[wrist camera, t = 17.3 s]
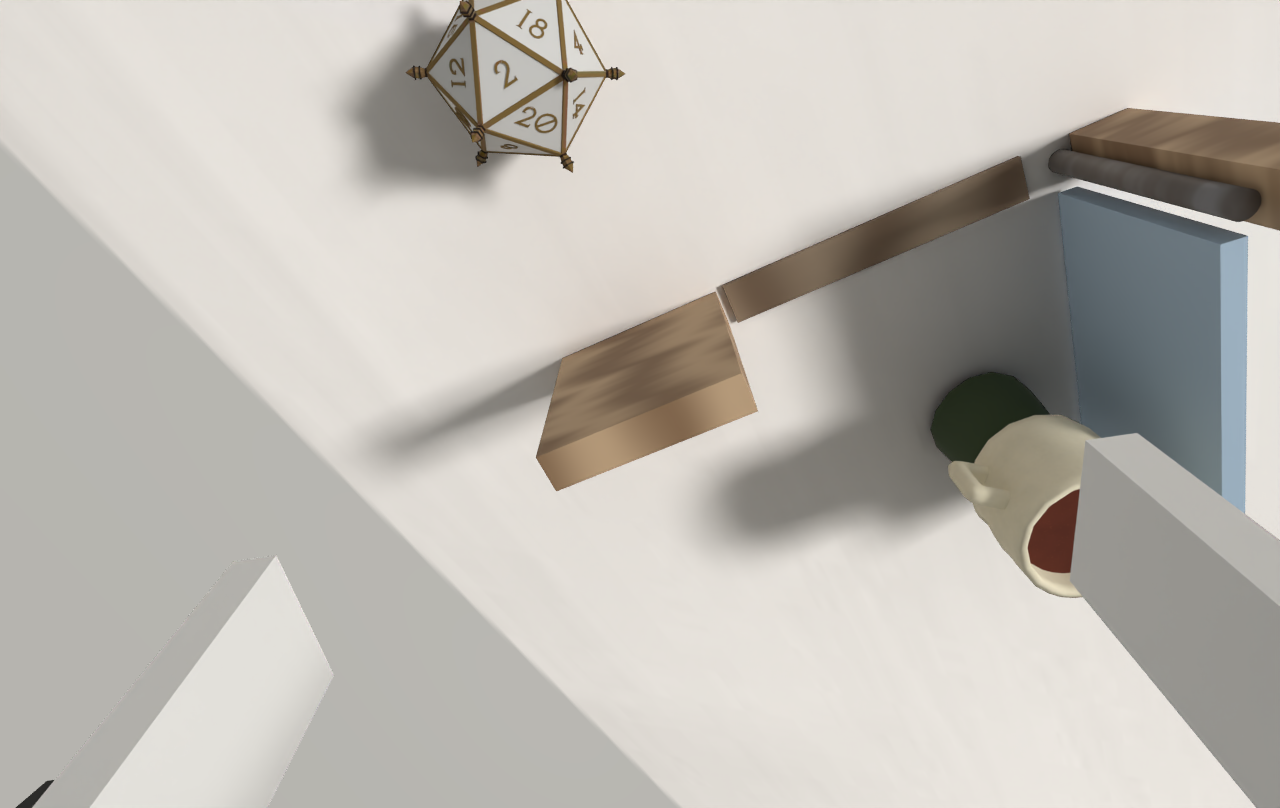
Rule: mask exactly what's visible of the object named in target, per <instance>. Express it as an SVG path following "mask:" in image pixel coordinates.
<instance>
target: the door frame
mask: <svg viewBox="0 0 1280 808" xmlns="http://www.w3.org/2000/svg"><path fill="white" fill-rule="evenodd" d="M1069 135H1070V141H1071V146H1072V151H1069V150H1064V149H1061V150H1058V151H1056V152H1054V153H1053V154H1052V155H1051V157H1050V159H1049V163H1048V165H1049V169H1050V170H1051V171H1052V172H1055V173H1058V174H1062V175H1066V176H1069V177H1073V178H1077V179H1080V180H1084V181H1088V182H1092V183H1095V184H1099V185H1103V186H1106V187H1110V188H1114V189H1117V190H1121V191H1125V192H1128V193H1132V194H1136V195H1140V196H1143V197H1147V198H1151V199H1154V200H1158V201H1162V202H1165V203H1169V204H1173V205H1177V206H1180V207H1184V208H1188V209H1191V210H1195V211H1199V212H1202V213H1206V214H1210V215H1213V216H1217V217H1221V218H1225V219H1228V220H1232V221H1236V222H1241V221H1246V222H1250V223H1253V224H1257V225H1261V226H1265V227H1268V228H1272V229H1276V230H1280V123H1276V122H1266V121H1256V120H1245V119H1235V118H1225V117H1214V116H1204V115H1194V114H1184V113H1173V112H1163V111H1153V110H1142V109H1132V108H1127V109H1125V110H1122V111H1120V112H1118V113H1115V114H1113V115H1111V116H1109V117H1106V118H1104V119H1102V120H1099V121H1097V122H1095V123H1093V124H1090V125H1088V126H1086V127H1083V128H1081V129H1079V130H1077V131H1074V132H1072V133H1070V134H1069ZM1028 199H1030V198H1029V194H1028V189H1027V185H1026V180H1025V175H1024V171H1023V166H1022V162H1021V157H1019V156H1017V157H1015V158H1012V159H1010V160H1008V161H1005V162H1003V163H1001V164H999V165H996V166H994V167H992V168H989V169H987V170H985V171H983V172H980V173H978V174H976V175H973V176H971V177H969V178H967V179H964V180H962V181H960V182H957V183H955V184H953V185H951V186H948V187H946V188H944V189H941V190H939V191H937V192H934V193H932V194H930V195H928V196H925V197H923V198H921V199H918V200H916V201H914V202H912V203H909V204H907V205H905V206H902V207H900V208H898V209H896V210H893V211H891V212H889V213H886V214H884V215H882V216H879V217H877V218H875V219H873V220H870V221H868V222H866V223H863V224H861V225H859V226H857V227H854V228H852V229H850V230H847V231H845V232H843V233H841V234H838V235H836V236H834V237H831V238H829V239H827V240H824V241H822V242H820V243H818V244H815V245H813V246H811V247H808V248H806V249H804V250H802V251H799V252H797V253H795V254H792V255H790V256H788V257H786V258H783V259H781V260H779V261H776V262H774V263H772V264H769V265H767V266H765V267H763V268H760V269H758V270H756V271H753V272H751V273H749V274H747V275H744V276H742V277H740V278H737V279H735V280H733V281H731V282H728V283H726V284H724V285H722V286H723V289H724V291H725V293H726V296H727V298H728V300H729V303H730V305H731V308H732V310H733V312H734V315H735V317H736V319H737V322H741V321H743V320H746V319H748V318H750V317H753V316H755V315H757V314H760V313H762V312H764V311H767V310H769V309H771V308H774V307H776V306H779V305H781V304H783V303H786V302H788V301H790V300H793V299H795V298H797V297H800V296H802V295H804V294H807V293H809V292H812V291H814V290H816V289H819V288H821V287H823V286H826V285H828V284H830V283H833V282H835V281H837V280H840V279H842V278H845V277H847V276H849V275H852V274H854V273H856V272H859V271H861V270H863V269H866V268H868V267H870V266H873V265H875V264H878V263H880V262H882V261H885V260H887V259H889V258H892V257H894V256H896V255H899V254H901V253H903V252H906V251H908V250H911V249H913V248H915V247H918V246H920V245H922V244H925V243H927V242H929V241H932V240H934V239H936V238H939V237H941V236H944V235H946V234H948V233H951V232H953V231H955V230H958V229H960V228H962V227H965V226H967V225H969V224H972V223H974V222H977V221H979V220H981V219H984V218H986V217H988V216H991V215H993V214H995V213H998V212H1000V211H1002V210H1005V209H1007V208H1010V207H1012V206H1014V205H1017V204H1019V203H1021V202H1024V201H1026V200H1028ZM757 411H758V410H757V407H756V404H755V401H754V398H753V395H752V392H751V389H750V386H749V383H748V380H747V377H746V374H745V371H744V368H743V365H742V362H741V359H740V356H739V353H738V350H737V347H736V344H735V341H734V338H733V335H732V332H731V329H730V326H729V323H728V320H727V318H726V315H725V313H724V311H723V308H722V306H721V304H720V301H719V299H718V297H717V294H716V292H714V293H711V294H709V295H707V296H704V297H702V298H700V299H698V300H695V301H693V302H691V303H688V304H686V305H684V306H681V307H679V308H677V309H675V310H672V311H670V312H668V313H665V314H663V315H661V316H658V317H656V318H654V319H652V320H649V321H647V322H645V323H642V324H640V325H638V326H636V327H633V328H631V329H629V330H626V331H624V332H622V333H619V334H617V335H615V336H613V337H610V338H608V339H606V340H603V341H601V342H599V343H596V344H594V345H592V346H590V347H587V348H585V349H583V350H580V351H578V352H576V353H573V354H571V355H569V356H567V357H564V358H562V361H561V365H560V369H559V373H558V376H557V380H556V384H555V388H554V391H553V395H552V399H551V403H550V406H549V410H548V414H547V418H546V421H545V425H544V429H543V433H542V436H541V440H540V444H539V448H538V451H537V455H536V458H537V460H538V462H539V463H540V465H541V467H542V468H543V470H544V472H545V473H546V475H547V477H548V478H549V480H550V482H551V483H552V485H553V487H554V488H555V490H556V491H559V490H561V489H564V488H566V487H569V486H571V485H574V484H576V483H579V482H581V481H584V480H586V479H589V478H591V477H594V476H596V475H599V474H601V473H604V472H606V471H609V470H611V469H614V468H616V467H619V466H621V465H624V464H626V463H629V462H631V461H634V460H636V459H639V458H641V457H644V456H646V455H649V454H652V453H654V452H657V451H659V450H662V449H664V448H667V447H669V446H672V445H674V444H677V443H679V442H682V441H684V440H687V439H689V438H692V437H694V436H697V435H699V434H702V433H704V432H707V431H709V430H712V429H714V428H717V427H719V426H722V425H724V424H727V423H729V422H732V421H734V420H737V419H739V418H742V417H744V416H747V415H750V414H752V413H755V412H757Z"/></svg>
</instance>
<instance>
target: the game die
mask: <svg viewBox="0 0 1280 808" xmlns="http://www.w3.org/2000/svg"><path fill="white" fill-rule="evenodd" d="M406 73H407V74H408V75H410V76H412V77H413V78H415V80H416V78H420V79H422V78H423V77H428V79H429V80H430V81H431V83H432V84H433V85H434V87H435V88H436V89H437V91H438V92H439V93H440V95H441V96H442V97H443V99H444V100H445V101H446V103H447V104H448V105H449V107H450V108H451V110H452V111H453V112H454V114H455V115H456V116H457V118H458V119H459V120H460V122H461V123H462V124H463V126H464V127H465V128H466V130H467V131H468V132H469V134H470V135H471V139H472V142H476V143H477V144H478V146H479V147H480V148H481V151H480V152H478V155H477V156H476V160H477V167H478V166H480V165H481V164H483V163H486V159H487V158H488V157H487V153H488V152H489V153H506V154H524V155H541V156H558V157H560V158H561V164H563V166H564V167H563V168H565V169H567V170H569V171H571V172H572V173H573V163H574V162H573V161H571V157H569V156H568V155H567V154H566V152H567V150H568V148H569V146H570V144H571V143H572V141H573V139H574V137H575V135H576V133H577V131H578V129H579V127H580V125H581V124H582V122H583V120H584V118H585V116H586V114H587V112H588V110H589V108H590V106H591V105H592V103H593V101H594V99H595V97H596V95H597V93H598V91H599V89H600V87H601V86H602V84H603V82H604V80H605V78H610V79H611V80H613V79H616V80H618V78H620V77H621V76H623V75H624V74H625V73H624V72H622V71H621V70H619V69H618V68H617V67H616V68H612V67H611V69H608V70H607V69H605V67H604V66H603V64H602V62H601V60H600V58H599V57H598V55H597V53H596V51H595V49H594V48H593V46H592V44H591V42H590V40H589V39H588V37H587V35H586V33H585V31H584V30H583V28H582V26H581V24H580V22H579V21H578V19H577V17H576V15H575V13H574V12H573V10H572V8H571V6H570V4H569V3H568V1H567V0H462V1H460V5H459V7H458V9H457V11H456V12H455V14H454V16H453V18H452V20H451V22H450V24H449V26H448V28H447V30H446V32H445V34H444V35H443V37H442V39H441V41H440V43H439V45H438V47H437V49H436V51H435V53H434V55H433V57H432V58H431V60H430V62H429V64H428V66H427V68H425V69H424V68H421V67H420V66H419V67H415V66H413V68H411V69H410V70H408V71H407V72H406Z"/></svg>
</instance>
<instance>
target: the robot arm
mask: <svg viewBox="0 0 1280 808" xmlns="http://www.w3.org/2000/svg"><path fill="white" fill-rule="evenodd" d="M1070 582H1071V583H1072V584H1073V586H1074V587H1075V588H1076V589H1077V590H1078V592H1079V593H1080V594H1081V595H1082V596H1083V598H1084V599H1085V600H1086V601H1087V603H1088V604H1089V605H1090V606H1091V607H1092V609H1093V610H1094V611H1095V612H1096V613H1097V615H1098V616H1099V617H1100V618H1101V620H1102V621H1103V622H1104V623H1105V624H1106V626H1107V627H1108V628H1109V629H1110V630H1111V632H1112V633H1113V634H1114V635H1115V637H1116V638H1117V639H1118V640H1119V641H1120V643H1121V644H1122V645H1123V646H1124V647H1125V649H1126V650H1127V651H1128V652H1129V654H1130V655H1131V656H1132V657H1133V658H1134V660H1135V661H1136V662H1137V663H1138V664H1139V666H1140V667H1141V668H1142V669H1143V671H1144V672H1145V673H1146V674H1147V675H1148V677H1149V678H1150V679H1151V680H1152V681H1153V683H1154V684H1155V685H1156V686H1157V688H1158V689H1159V690H1160V691H1161V692H1162V694H1163V695H1164V696H1165V697H1166V699H1167V700H1168V701H1169V702H1170V703H1171V705H1172V706H1173V707H1174V708H1175V709H1176V711H1177V712H1178V713H1179V714H1180V716H1181V717H1182V718H1183V719H1184V720H1185V722H1186V723H1187V724H1188V725H1189V726H1190V728H1191V729H1192V730H1193V731H1194V733H1195V734H1196V735H1197V736H1198V737H1199V739H1200V740H1201V741H1202V742H1203V743H1204V745H1205V746H1206V747H1207V748H1208V750H1209V751H1210V752H1211V753H1212V754H1213V756H1214V757H1215V758H1216V759H1217V760H1218V762H1219V763H1220V764H1221V765H1222V767H1223V768H1224V769H1225V770H1226V771H1227V773H1228V774H1229V775H1230V776H1231V777H1232V779H1233V780H1234V781H1235V782H1236V784H1237V785H1238V786H1239V787H1240V788H1241V790H1242V791H1243V792H1244V793H1245V794H1246V796H1247V797H1248V798H1249V799H1250V801H1251V802H1252V803H1253V804H1254V805H1255V807H1256V808H1280V540H1279V539H1278V538H1276V537H1275V536H1274V535H1272V534H1271V533H1270V532H1268V531H1267V530H1266V529H1264V528H1263V527H1262V526H1260V525H1259V524H1258V523H1256V522H1255V521H1254V520H1252V519H1251V518H1250V517H1248V516H1247V515H1246V514H1244V513H1243V512H1242V511H1240V510H1239V509H1238V508H1236V507H1235V506H1234V505H1232V504H1231V503H1230V502H1228V501H1227V500H1226V499H1224V498H1223V497H1222V496H1220V495H1219V494H1218V493H1216V492H1215V491H1214V490H1212V489H1211V488H1210V487H1208V486H1207V485H1206V484H1204V483H1203V482H1202V481H1200V480H1199V479H1198V478H1196V477H1195V476H1194V475H1192V474H1191V473H1190V472H1188V471H1187V470H1186V469H1184V468H1183V467H1182V466H1181V465H1179V464H1178V463H1177V462H1175V461H1174V460H1173V459H1171V458H1170V457H1169V456H1167V455H1166V454H1165V453H1163V452H1162V451H1161V450H1159V449H1158V448H1157V447H1155V446H1154V445H1153V444H1151V443H1150V442H1149V441H1147V440H1146V439H1145V438H1143V437H1142V436H1141V435H1139V434H1138V433H1133V434H1126V435H1119V436H1112V437H1105V438H1098V439H1091V440H1085V449H1084V458H1083V467H1082V475H1081V484H1080V493H1079V502H1078V511H1077V520H1076V529H1075V537H1074V546H1073V555H1072V564H1071V573H1070ZM333 676H334V674H333V672H332V670H331V668H330V666H329V664H328V662H327V660H326V658H325V655H324V653H323V651H322V649H321V647H320V645H319V643H318V641H317V639H316V637H315V635H314V633H313V631H312V629H311V626H310V624H309V622H308V620H307V618H306V616H305V614H304V612H303V610H302V608H301V606H300V604H299V602H298V599H297V597H296V595H295V593H294V591H293V589H292V587H291V585H290V583H289V581H288V579H287V577H286V575H285V573H284V570H283V569H282V566H281V564H280V562H279V560H278V558H277V556H276V555H275V556H268V557H262V558H254V559H247V560H240V561H233V562H232V563H231V565H230V566H229V567H228V568H227V570H226V571H225V572H224V573H223V574H222V576H221V577H220V578H219V579H218V581H217V582H216V583H215V584H214V586H213V587H212V588H211V589H210V590H209V592H208V593H207V594H206V595H205V596H204V598H203V599H202V600H201V601H200V603H199V604H198V605H197V606H196V608H195V609H194V610H193V611H192V612H191V614H190V615H189V616H188V617H187V619H186V620H185V621H184V622H183V623H182V625H181V626H180V627H179V628H178V630H177V631H176V632H175V633H174V635H173V636H172V637H171V638H170V639H169V641H168V642H167V643H166V644H165V646H164V647H163V648H162V649H161V650H160V652H159V653H158V654H157V655H156V656H155V658H154V659H153V660H152V662H151V663H150V664H149V665H148V666H147V668H146V669H145V670H144V671H143V673H142V674H141V675H140V676H139V677H138V679H137V680H136V681H135V682H134V683H133V685H132V686H131V687H130V688H129V690H128V691H127V692H126V694H124V696H123V697H122V698H121V699H120V701H119V702H118V703H117V704H116V706H115V707H114V708H113V709H112V710H111V712H110V713H109V714H108V715H107V717H106V718H105V719H104V720H103V721H102V723H101V724H100V725H99V726H98V728H97V729H96V730H95V731H94V732H93V734H92V735H91V736H90V737H89V739H88V740H87V741H86V742H85V743H84V745H83V746H82V747H81V748H80V750H79V751H78V752H77V753H76V755H75V756H74V757H73V758H72V759H71V761H70V762H69V763H68V764H67V766H66V767H65V768H64V769H63V771H62V772H61V773H60V774H59V775H58V777H57V778H56V779H55V780H51V781H46V782H45V783H44V784H43V785H42V786H40V787H39V788H38V789H37V790H36V791H35V792H33V793H32V794H31V795H30V796H29V797H28V798H26V799H25V800H24V801H23V802H22V803H21V804H19V805H18V806H17V807H16V808H267V807H268V806H269V804H270V801H271V800H272V798H273V796H274V794H275V792H276V790H277V788H278V786H279V784H280V782H281V780H282V778H283V776H284V774H285V772H286V770H287V768H288V766H289V764H290V762H291V760H292V758H293V756H294V754H295V752H296V750H297V748H298V746H299V744H300V742H301V740H302V738H303V735H304V734H305V732H306V730H307V728H308V726H309V724H310V722H311V720H312V718H313V716H314V714H315V712H316V710H317V708H318V706H319V704H320V702H321V700H322V698H323V695H324V694H325V692H326V690H327V688H328V686H329V684H330V682H331V680H332V678H333Z"/></svg>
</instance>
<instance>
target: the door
mask: <svg viewBox="0 0 1280 808" xmlns="http://www.w3.org/2000/svg"><path fill="white" fill-rule="evenodd" d="M1058 198H1059V208H1060V218H1061V227H1062V237H1063V247H1064V257H1065V267H1066V277H1067V286H1068V296H1069V306H1070V316H1071V326H1072V336H1073V346H1074V355H1075V365H1076V375H1077V385H1078V395H1079V405H1080V414H1081V424H1082V425H1084V426H1086V427H1088V428H1090V429H1091V430H1092V431H1093V432H1095V433H1096V434H1097V435H1098V436H1100V437H1101V438H1105V437H1112V436H1119V435H1126V434H1133V433H1138V434H1139V435H1141V436H1142V437H1143V438H1145V439H1146V440H1147V441H1149V442H1150V443H1151V444H1153V445H1154V446H1155V447H1157V448H1158V449H1159V450H1161V451H1162V452H1163V453H1165V454H1166V455H1167V456H1169V457H1170V458H1171V459H1173V460H1174V461H1175V462H1177V463H1178V464H1179V465H1181V466H1182V467H1183V468H1184V469H1186V470H1187V471H1188V472H1190V473H1191V474H1192V475H1194V476H1195V477H1196V478H1198V479H1199V480H1200V481H1202V482H1203V483H1204V484H1206V485H1207V486H1208V487H1210V488H1211V489H1212V490H1214V491H1215V492H1216V493H1218V494H1219V495H1220V496H1222V497H1223V498H1224V499H1226V500H1227V501H1228V502H1230V503H1231V504H1232V505H1234V506H1235V507H1236V508H1238V509H1239V510H1240V511H1242V512H1243V513H1244V514H1245V469H1246V371H1247V273H1248V236H1246V235H1243V234H1239V233H1236V232H1232V231H1229V230H1225V229H1222V228H1219V227H1215V226H1212V225H1208V224H1205V223H1201V222H1198V221H1194V220H1191V219H1187V218H1184V217H1180V216H1177V215H1174V214H1170V213H1167V212H1163V211H1160V210H1156V209H1153V208H1149V207H1146V206H1142V205H1139V204H1135V203H1132V202H1129V201H1125V200H1122V199H1118V198H1115V197H1111V196H1108V195H1104V194H1101V193H1097V192H1094V191H1091V190H1087V189H1084V188H1080V187H1075V188H1072V189H1069V190H1066V191H1063V192H1060V193H1058Z"/></svg>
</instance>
